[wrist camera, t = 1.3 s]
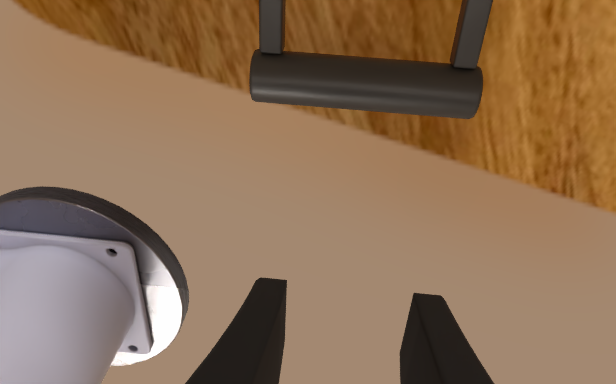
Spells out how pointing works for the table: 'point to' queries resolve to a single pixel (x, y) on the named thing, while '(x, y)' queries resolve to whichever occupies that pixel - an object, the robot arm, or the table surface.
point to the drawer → (371, 72)
